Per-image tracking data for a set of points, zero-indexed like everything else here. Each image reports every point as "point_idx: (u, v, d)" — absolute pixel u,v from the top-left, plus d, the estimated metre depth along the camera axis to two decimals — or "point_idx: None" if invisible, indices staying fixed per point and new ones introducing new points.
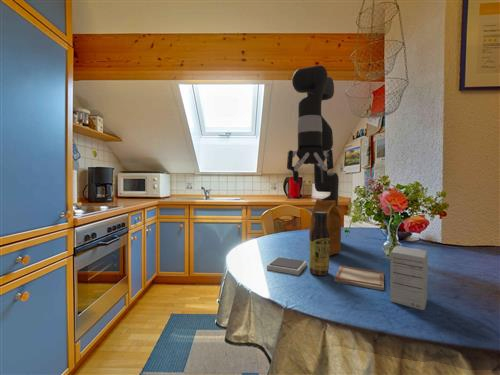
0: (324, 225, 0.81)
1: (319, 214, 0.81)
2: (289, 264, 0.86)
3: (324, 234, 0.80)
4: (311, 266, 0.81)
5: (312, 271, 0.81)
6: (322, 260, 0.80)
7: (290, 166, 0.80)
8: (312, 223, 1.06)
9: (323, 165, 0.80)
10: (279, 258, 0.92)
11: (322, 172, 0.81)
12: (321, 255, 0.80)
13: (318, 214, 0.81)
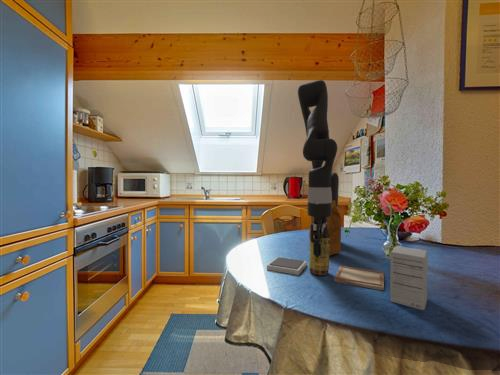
0: None
1: None
2: (289, 264, 0.86)
3: (324, 234, 0.80)
4: (311, 266, 0.81)
5: (312, 271, 0.81)
6: (322, 260, 0.80)
7: (319, 240, 0.77)
8: None
9: None
10: (279, 258, 0.92)
11: None
12: (321, 255, 0.80)
13: None
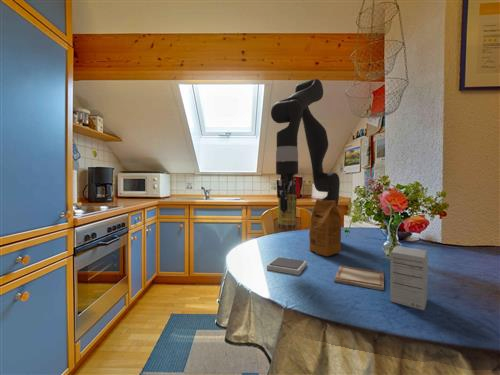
0: None
1: None
2: (289, 264, 0.86)
3: (291, 191, 0.84)
4: (279, 222, 0.86)
5: (280, 226, 0.86)
6: (289, 215, 0.84)
7: (285, 195, 0.82)
8: (312, 223, 1.06)
9: None
10: (279, 258, 0.92)
11: None
12: (288, 210, 0.84)
13: None
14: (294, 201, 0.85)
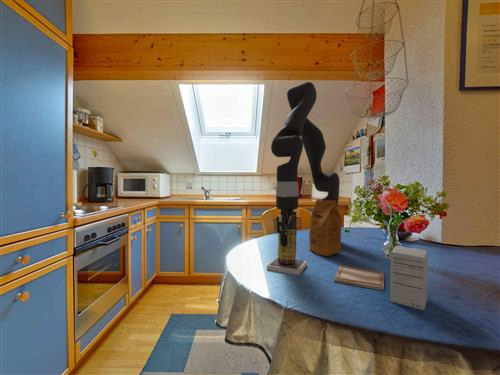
0: None
1: None
2: (289, 264, 0.86)
3: (290, 226, 0.85)
4: (279, 256, 0.86)
5: (280, 260, 0.86)
6: (288, 249, 0.85)
7: (285, 231, 0.82)
8: (312, 223, 1.06)
9: None
10: None
11: None
12: (288, 245, 0.85)
13: None
14: (294, 236, 0.85)
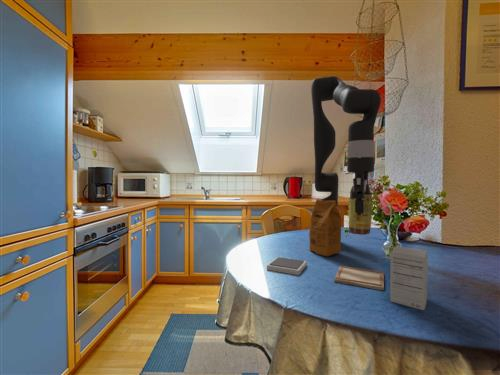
0: None
1: None
2: (289, 264, 0.86)
3: (367, 191, 0.75)
4: (352, 225, 0.76)
5: (353, 231, 0.76)
6: (365, 218, 0.75)
7: (363, 195, 0.72)
8: (312, 223, 1.06)
9: None
10: (279, 258, 0.92)
11: None
12: (364, 213, 0.75)
13: None
14: (370, 202, 0.75)
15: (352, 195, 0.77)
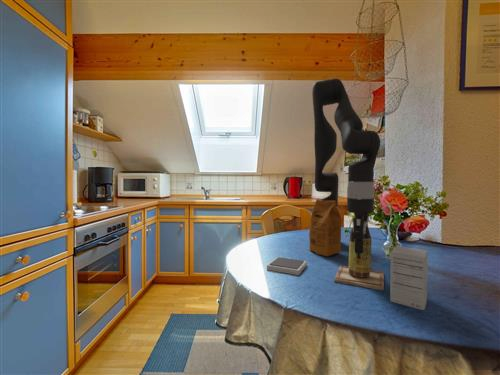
0: (366, 225, 0.76)
1: None
2: (289, 264, 0.86)
3: (366, 234, 0.76)
4: (351, 268, 0.77)
5: (353, 273, 0.77)
6: (364, 261, 0.75)
7: (363, 236, 0.72)
8: (312, 223, 1.06)
9: None
10: (279, 258, 0.92)
11: None
12: (363, 257, 0.75)
13: None
14: (370, 246, 0.76)
15: (352, 238, 0.77)
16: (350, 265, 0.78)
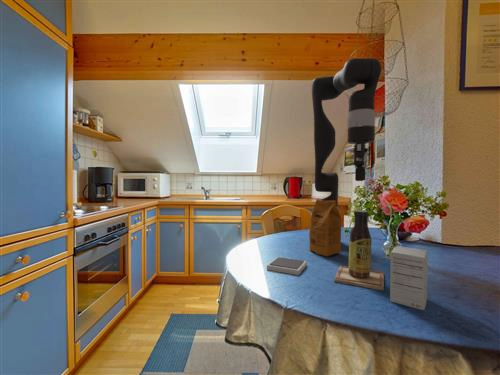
0: (366, 225, 0.76)
1: (360, 213, 0.76)
2: (289, 264, 0.86)
3: (366, 234, 0.76)
4: (351, 268, 0.77)
5: (353, 273, 0.77)
6: (364, 261, 0.75)
7: (363, 161, 0.71)
8: (312, 223, 1.06)
9: (365, 162, 0.80)
10: (279, 258, 0.92)
11: None
12: (363, 257, 0.75)
13: (359, 213, 0.76)
14: (370, 246, 0.76)
15: (352, 238, 0.77)
16: (350, 265, 0.78)
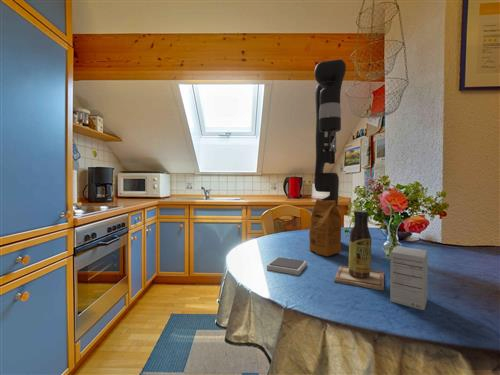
0: (366, 225, 0.76)
1: (360, 213, 0.76)
2: (289, 264, 0.86)
3: (366, 234, 0.76)
4: (351, 268, 0.77)
5: (353, 273, 0.77)
6: (364, 261, 0.75)
7: (330, 146, 0.85)
8: (312, 223, 1.06)
9: (334, 148, 0.95)
10: (279, 258, 0.92)
11: (332, 154, 0.95)
12: (363, 257, 0.75)
13: (359, 213, 0.76)
14: (370, 246, 0.76)
15: (352, 238, 0.77)
16: (350, 265, 0.78)
